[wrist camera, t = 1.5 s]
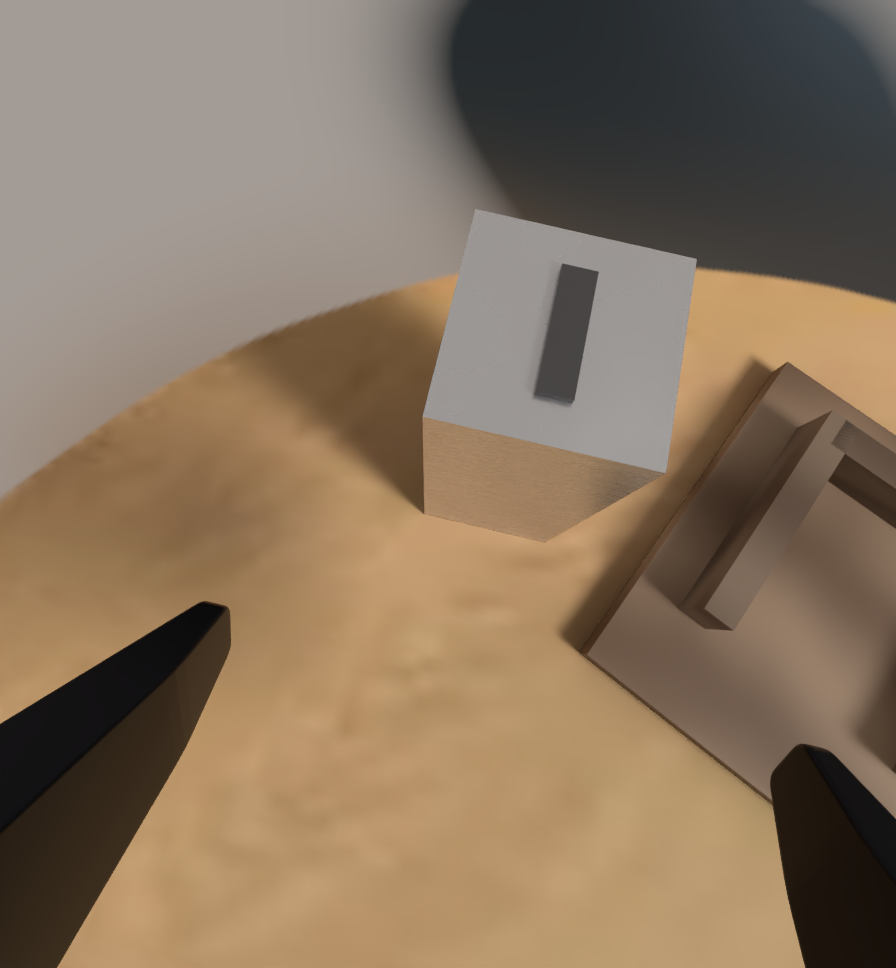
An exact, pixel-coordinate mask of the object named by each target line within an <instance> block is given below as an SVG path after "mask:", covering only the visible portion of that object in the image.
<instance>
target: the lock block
mask: <svg viewBox="0 0 896 968" xmlns="http://www.w3.org/2000/svg"><path fill="white" fill-rule="evenodd" d="M695 267H696V259H693V258H689V257H685V256H680V255H676V254H672V253H667V252H663V251H658V250H654V249H649V248H645V247H641V246H636V245H632V244H627V243H623V242H619V241H614V240H610V239H605V238H601V237H597V236H592V235H588V234H583V233H579V232H574V231H570V230H565V229H561V228H557V227H552V226H548V225H544V224H539V223H535V222H530V221H526V220H521V219H517V218H512V217H508V216H504V215H499V214H495V213H491V212H486V211H481V210H477V209H476V210H475V214H474V217H473V221H472V226H471V229H470V233H469V237H468V241H467V245H466V249H465V252H464V256H463V260H462V264H461V268H460V272H459V276H458V280H457V284H456V288H455V291H454V295H453V299H452V303H451V307H450V311H449V315H448V319H447V323H446V327H445V330H444V334H443V338H442V342H441V346H440V350H439V354H438V358H437V362H436V366H435V370H434V373H433V377H432V381H431V385H430V389H429V393H428V397H427V401H426V405H425V409H424V413H423V416H422V419H423V468H424V514H425V515H429V516H434V517H438V518H442V519H446V520H451V521H455V522H459V523H464V524H468V525H472V526H476V527H481V528H485V529H489V530H493V531H498V532H502V533H506V534H510V535H515V536H519V537H523V538H527V539H532V540H536V541H540V542H544V543H546V542H547V541H549V540H551V539H553V538H554V537H556V536H558V535H560V534H561V533H563V532H565V531H566V530H568V529H570V528H572V527H573V526H575V525H577V524H579V523H580V522H582V521H584V520H586V519H587V518H589V517H591V516H592V515H594V514H596V513H598V512H599V511H601V510H603V509H605V508H606V507H608V506H610V505H612V504H613V503H615V502H617V501H619V500H620V499H622V498H624V497H625V496H627V495H629V494H631V493H632V492H634V491H636V490H638V489H639V488H641V487H643V486H645V485H646V484H648V483H650V482H652V481H653V480H655V479H657V478H658V477H660V476H662V475H664V474H665V473H666V470H667V463H668V456H669V449H670V442H671V435H672V428H673V421H674V414H675V407H676V400H677V393H678V386H679V379H680V372H681V365H682V358H683V351H684V344H685V337H686V330H687V323H688V316H689V309H690V302H691V295H692V288H693V281H694V274H695Z"/></svg>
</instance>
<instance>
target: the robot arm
mask: <svg viewBox="0 0 896 968" xmlns="http://www.w3.org/2000/svg"><path fill="white" fill-rule="evenodd" d="M230 646H231V625H230V610H229V608H228V607H227V606H225V605H220V604H216V603H212V602H207V601H203V602H200V603H198V604H196V605H194V606H193V607H191V608H189V609H188V610H186V611H184V612H183V613H181V614H179V615H178V616H176V617H175V618H173V619H171V620H170V621H168V622H166V623H165V624H163V625H161V626H160V627H158V628H157V629H155V630H153V631H152V632H150V633H148V634H147V635H145V636H143V637H142V638H140V639H138V640H137V641H135V642H134V643H132V644H130V645H129V646H127V647H125V648H124V649H122V650H120V651H119V652H117V653H116V654H114V655H112V656H111V657H109V658H107V659H106V660H104V661H102V662H101V663H99V664H98V665H96V666H94V667H93V668H91V669H89V670H88V671H86V672H84V673H83V674H81V675H79V676H78V677H76V678H75V679H73V680H71V681H70V682H68V683H66V684H65V685H63V686H61V687H60V688H58V689H57V690H55V691H53V692H52V693H50V694H48V695H47V696H45V697H43V698H42V699H40V700H39V701H37V702H35V703H34V704H32V705H30V706H29V707H27V708H25V709H24V710H22V711H20V712H19V713H17V714H16V715H14V716H12V717H11V718H9V719H7V720H6V721H4V722H2V723H1V724H0V968H57V967H58V965H59V963H60V962H61V960H62V958H63V957H64V955H65V953H66V951H67V950H68V948H69V946H70V945H71V943H72V941H73V939H74V938H75V936H76V934H77V933H78V931H79V929H80V928H81V926H82V924H83V922H84V921H85V919H86V917H87V916H88V914H89V912H90V911H91V909H92V907H93V905H94V904H95V902H96V900H97V899H98V897H99V895H100V894H101V892H102V890H103V888H104V887H105V885H106V883H107V882H108V880H109V878H110V877H111V875H112V873H113V871H114V870H115V868H116V866H117V865H118V863H119V861H120V859H121V858H122V856H123V854H124V853H125V851H126V849H127V848H128V846H129V844H130V842H131V841H132V839H133V837H134V836H135V834H136V832H137V831H138V829H139V827H140V825H141V824H142V822H143V820H144V819H145V817H146V815H147V814H148V812H149V810H150V808H151V807H152V805H153V803H154V802H155V800H156V798H157V797H158V795H159V793H160V791H161V790H162V788H163V786H164V785H165V783H166V781H167V779H168V778H169V776H170V774H171V773H172V771H173V769H174V768H175V766H176V764H177V762H178V761H179V759H180V757H181V755H182V753H183V751H184V750H185V748H186V746H187V744H188V741H189V739H190V737H191V735H192V733H193V731H194V729H195V727H196V724H197V722H198V720H199V718H200V716H201V713H202V711H203V709H204V707H205V705H206V702H207V700H208V698H209V696H210V694H211V691H212V689H213V687H214V685H215V683H216V680H217V678H218V676H219V674H220V672H221V669H222V667H223V665H224V663H225V661H226V658H227V656H228V653H229V650H230ZM770 790H771V797H772V803H773V810H774V816H775V823H776V829H777V835H778V842H779V848H780V855H781V861H782V867H783V874H784V880H785V885H786V890H787V895H788V900H789V904H790V909H791V913H792V917H793V921H794V925H795V929H796V933H797V937H798V941H799V945H800V949H801V953H802V957H803V961H804V964H805V968H896V818H895V817H894V816H893V815H892V814H891V813H890V812H889V811H888V810H887V809H886V808H885V807H884V806H883V805H882V804H881V803H880V802H879V801H878V800H877V798H876V797H875V796H874V795H873V794H872V793H871V792H870V791H869V790H868V789H867V788H866V787H865V786H864V785H863V784H862V783H861V782H860V781H859V780H858V779H857V778H856V777H855V776H854V774H853V773H852V772H851V771H850V770H849V769H848V768H847V767H846V766H845V765H844V764H843V763H842V762H841V761H840V760H839V759H838V758H837V757H836V756H835V755H834V754H833V753H832V752H830V751H829V750H827V749H824V748H821V747H817V746H813V745H808V744H802V743H801V744H798V745H796V746H795V747H794V748H793V749H792V750H791V751H790V752H789V753H788V754H787V755H786V757H785V758H784V759H783V760H782V761H781V762H780V763H779V764H778V765H777V767H776V768H775V769H774V770H773V772H772V774H771V778H770Z"/></svg>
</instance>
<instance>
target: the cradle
mask: <svg viewBox="0 0 896 968" xmlns="http://www.w3.org/2000/svg"><path fill="white" fill-rule="evenodd" d="M580 654H582V655H583V656H584V657H586V658H587V659H588V660H589V661H591V662H592V663H593V664H594V665H596V666H597V667H598V668H599V669H601V670H602V671H603V672H605V673H606V674H607V675H608V676H610V677H611V678H612V679H613V680H615V681H616V682H617V683H619V684H620V685H621V686H622V687H624V688H625V689H626V690H627V691H629V692H630V693H631V694H633V695H634V696H635V697H636V698H638V699H639V700H640V701H641V702H643V703H644V704H645V705H646V706H648V707H649V708H650V709H652V710H653V711H654V712H655V713H657V714H658V715H659V716H660V717H662V718H663V719H664V720H666V721H667V722H668V723H669V724H671V725H672V726H673V727H674V728H676V729H677V730H678V731H680V732H681V733H682V734H683V735H685V736H686V737H687V738H688V739H690V740H691V741H692V742H694V743H695V744H696V745H697V746H699V747H700V748H701V749H702V750H704V751H705V752H706V753H707V754H709V755H710V756H711V757H713V758H714V759H715V760H716V761H718V762H719V763H720V764H721V765H723V766H724V767H725V768H727V769H728V770H729V771H730V772H732V773H733V774H734V775H735V776H737V777H738V778H739V779H741V780H742V781H743V782H744V783H746V784H747V785H748V786H749V787H751V788H752V789H753V790H755V791H756V792H757V793H758V794H760V795H761V796H762V797H763V798H765V799H766V800H767V801H768V802H770V803H771V804H772V805H773V803H772V797H771V790H770V778H771V774H772V772H773V770H774V769H775V768H776V767H777V765H778V764H779V763H780V762H781V761H782V760H783V759H784V758H785V757H786V755H787V754H788V753H789V752H790V751H791V750H792V749H793V748H794V747H795V746H796V745H798V744H801V743H802V744H808V745H813V746H817V747H821V748H824V749H827V750H829V751H830V752H832V753H833V754H834V755H835V756H836V757H837V758H838V759H839V760H840V761H841V762H842V763H843V764H844V765H845V766H846V767H847V768H848V769H849V770H850V771H851V772H852V773H853V774H854V776H855V777H856V778H857V779H858V780H859V781H860V782H861V783H862V784H863V785H864V786H865V787H866V788H867V789H868V790H869V791H870V792H871V793H872V794H873V795H874V796H875V797H876V798H877V800H878V801H879V802H880V803H881V804H882V805H883V806H884V807H885V808H886V809H887V810H888V811H889V812H890V813H891V814H892V815H893V816H894V817H895V818H896V435H894V434H893V433H891V432H890V431H888V430H887V429H885V428H884V427H882V426H881V425H880V424H878V423H877V422H875V421H874V420H872V419H871V418H869V417H868V416H866V415H865V414H863V413H862V412H860V411H859V410H858V409H856V408H855V407H853V406H852V405H850V404H849V403H847V402H846V401H844V400H843V399H841V398H840V397H838V396H837V395H836V394H834V393H833V392H831V391H830V390H828V389H827V388H825V387H824V386H822V385H821V384H819V383H818V382H816V381H815V380H814V379H812V378H811V377H809V376H808V375H806V374H805V373H803V372H802V371H800V370H799V369H797V368H796V367H794V366H793V365H791V364H790V363H789V362H787V363H785V364H784V365H782V366H781V367H779V368H778V369H776V370H775V371H774V372H773V373H772V374H771V376H770V377H769V378H768V380H767V381H766V383H765V384H764V386H763V387H762V389H761V390H760V392H759V393H758V394H757V396H756V397H755V399H754V400H753V402H752V403H751V405H750V406H749V408H748V409H747V410H746V412H745V413H744V415H743V416H742V418H741V419H740V421H739V422H738V423H737V425H736V426H735V428H734V429H733V431H732V432H731V434H730V435H729V437H728V438H727V439H726V441H725V442H724V444H723V445H722V447H721V448H720V450H719V451H718V452H717V454H716V455H715V457H714V458H713V460H712V461H711V463H710V464H709V466H708V467H707V468H706V470H705V471H704V473H703V474H702V476H701V477H700V479H699V480H698V482H697V483H696V484H695V486H694V487H693V489H692V490H691V492H690V493H689V495H688V496H687V497H686V499H685V500H684V502H683V503H682V505H681V506H680V508H679V509H678V511H677V512H676V513H675V515H674V516H673V518H672V519H671V521H670V522H669V524H668V525H667V527H666V528H665V529H664V531H663V532H662V534H661V535H660V537H659V538H658V540H657V541H656V542H655V544H654V545H653V547H652V548H651V550H650V551H649V553H648V554H647V556H646V557H645V558H644V560H643V561H642V563H641V564H640V566H639V567H638V569H637V570H636V571H635V573H634V574H633V576H632V577H631V579H630V580H629V582H628V583H627V585H626V586H625V587H624V589H623V590H622V592H621V593H620V595H619V596H618V598H617V599H616V601H615V602H614V603H613V605H612V606H611V608H610V609H609V611H608V612H607V614H606V615H605V616H604V618H603V619H602V621H601V622H600V624H599V625H598V627H597V628H596V630H595V631H594V632H593V634H592V635H591V637H590V638H589V640H588V641H587V643H586V644H585V645H584V647H583V648H582V650H581V651H580Z"/></svg>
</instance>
